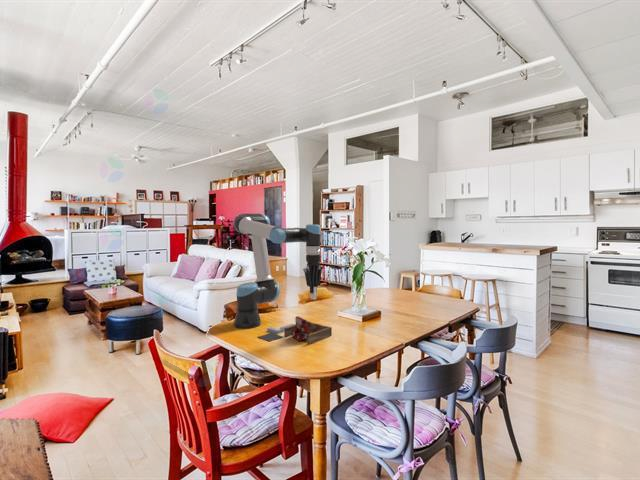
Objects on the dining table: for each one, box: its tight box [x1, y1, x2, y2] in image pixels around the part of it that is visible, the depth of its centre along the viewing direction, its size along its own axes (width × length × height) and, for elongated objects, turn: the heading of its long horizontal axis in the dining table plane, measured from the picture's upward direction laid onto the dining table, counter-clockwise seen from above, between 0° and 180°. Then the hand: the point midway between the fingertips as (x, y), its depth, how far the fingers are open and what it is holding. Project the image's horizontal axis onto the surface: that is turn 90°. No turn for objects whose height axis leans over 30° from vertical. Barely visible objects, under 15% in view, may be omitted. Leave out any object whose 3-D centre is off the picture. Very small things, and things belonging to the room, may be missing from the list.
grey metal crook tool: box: [279, 323, 296, 333], centre depth 196 cm, size 6×10×2 cm, turn 139°
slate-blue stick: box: [266, 326, 282, 335], centre depth 193 cm, size 8×2×2 cm, turn 48°
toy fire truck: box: [291, 316, 312, 342], centre depth 182 cm, size 7×12×10 cm, turn 31°
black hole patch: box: [257, 332, 283, 342], centre depth 184 cm, size 9×9×1 cm
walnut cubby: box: [283, 320, 333, 345], centre depth 186 cm, size 17×17×4 cm
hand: (313, 299), depth 188 cm, fingers closed
